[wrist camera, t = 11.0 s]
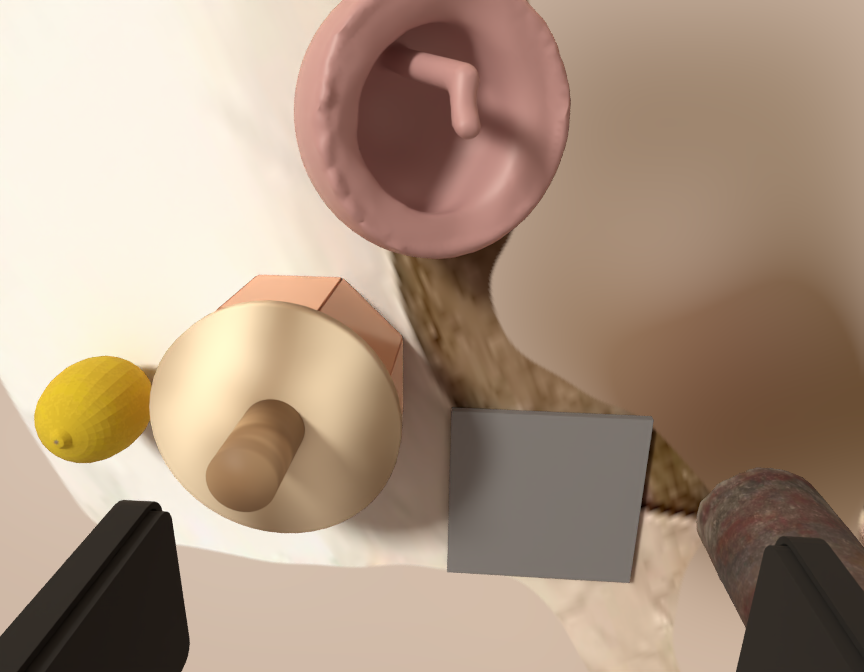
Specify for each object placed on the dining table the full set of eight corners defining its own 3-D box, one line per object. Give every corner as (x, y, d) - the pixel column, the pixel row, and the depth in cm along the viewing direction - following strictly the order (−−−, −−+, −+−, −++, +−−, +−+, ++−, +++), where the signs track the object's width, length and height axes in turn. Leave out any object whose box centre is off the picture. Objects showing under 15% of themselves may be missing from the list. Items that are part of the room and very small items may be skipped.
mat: (651, 416, 40) (653, 420, 40) (628, 577, 44) (629, 582, 44) (452, 407, 41) (451, 411, 40) (447, 567, 45) (447, 572, 45)
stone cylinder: (704, 449, 41) (892, 758, 22) (828, 457, 40) (1125, 779, 22) (682, 552, 44) (833, 904, 25) (798, 561, 43) (1039, 925, 24)
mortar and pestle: (552, 227, 37) (580, 286, 26) (336, 229, 38) (278, 287, 27) (562, -18, 32) (601, -68, 22) (319, -10, 33) (242, -54, 23)
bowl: (402, 279, 38) (389, 313, 33) (403, 461, 43) (391, 519, 37) (198, 272, 39) (150, 304, 33) (218, 452, 43) (179, 507, 38)
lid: (402, 304, 33) (385, 351, 27) (402, 528, 37) (388, 607, 32) (142, 295, 33) (73, 338, 28) (174, 515, 38) (120, 590, 32)
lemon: (141, 322, 40) (64, 377, 33) (192, 398, 42) (130, 466, 35) (71, 359, 42) (-19, 419, 34) (123, 430, 43) (48, 503, 36)
